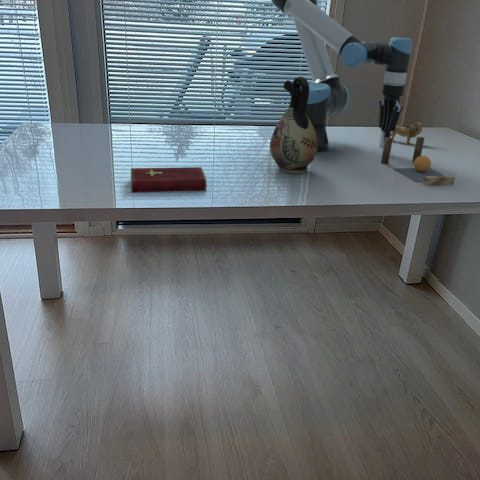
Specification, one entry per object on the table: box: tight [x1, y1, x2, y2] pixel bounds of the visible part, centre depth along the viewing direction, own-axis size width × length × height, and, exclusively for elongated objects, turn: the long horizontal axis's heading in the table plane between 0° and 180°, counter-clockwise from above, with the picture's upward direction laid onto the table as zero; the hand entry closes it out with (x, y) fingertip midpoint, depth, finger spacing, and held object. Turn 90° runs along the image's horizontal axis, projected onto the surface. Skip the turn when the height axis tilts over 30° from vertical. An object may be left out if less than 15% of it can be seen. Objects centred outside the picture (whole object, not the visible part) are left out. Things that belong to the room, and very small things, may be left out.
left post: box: [380, 137, 393, 165], centre depth 171 cm, size 3×3×9 cm
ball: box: [413, 155, 432, 172], centre depth 165 cm, size 6×6×6 cm
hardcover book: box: [130, 166, 208, 194], centre depth 141 cm, size 12×21×4 cm, turn 101°
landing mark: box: [392, 167, 445, 183], centre depth 163 cm, size 14×14×1 cm
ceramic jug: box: [269, 76, 318, 174], centre depth 154 cm, size 17×15×30 cm
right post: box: [411, 136, 425, 164], centre depth 174 cm, size 3×3×9 cm
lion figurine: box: [390, 122, 423, 146], centre depth 202 cm, size 15×5×9 cm, turn 69°
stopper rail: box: [421, 174, 456, 187], centre depth 153 cm, size 10×2×2 cm, turn 104°
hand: (383, 148), depth 185 cm, fingers closed
